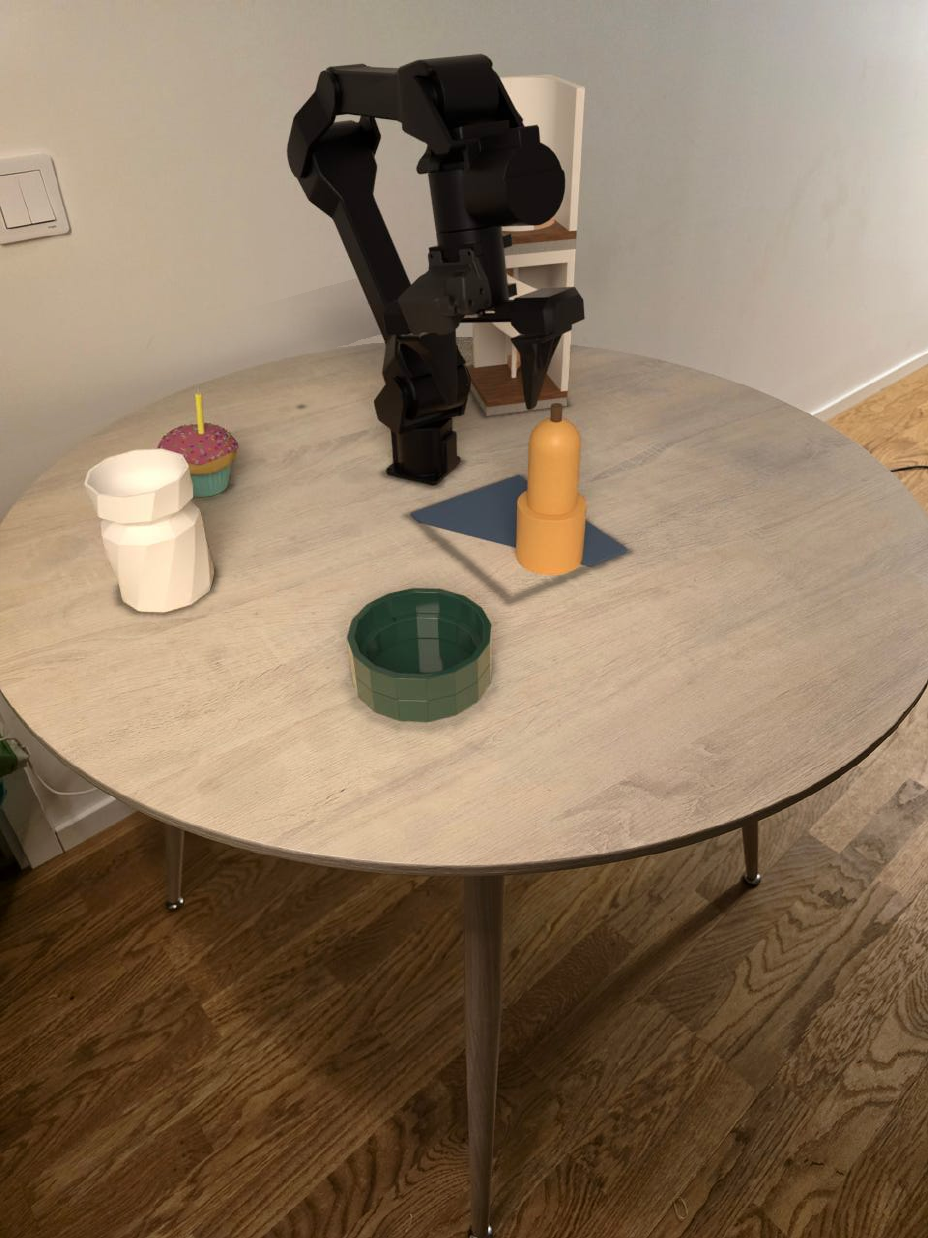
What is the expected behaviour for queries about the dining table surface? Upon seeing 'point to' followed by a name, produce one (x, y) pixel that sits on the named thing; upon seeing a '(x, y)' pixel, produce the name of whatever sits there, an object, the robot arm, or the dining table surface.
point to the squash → (552, 499)
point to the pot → (420, 654)
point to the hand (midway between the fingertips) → (490, 406)
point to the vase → (151, 528)
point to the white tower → (535, 250)
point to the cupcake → (203, 452)
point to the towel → (504, 519)
